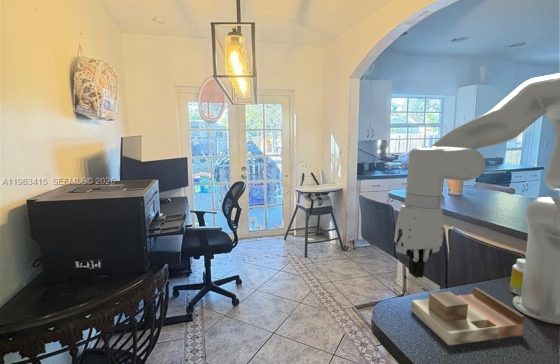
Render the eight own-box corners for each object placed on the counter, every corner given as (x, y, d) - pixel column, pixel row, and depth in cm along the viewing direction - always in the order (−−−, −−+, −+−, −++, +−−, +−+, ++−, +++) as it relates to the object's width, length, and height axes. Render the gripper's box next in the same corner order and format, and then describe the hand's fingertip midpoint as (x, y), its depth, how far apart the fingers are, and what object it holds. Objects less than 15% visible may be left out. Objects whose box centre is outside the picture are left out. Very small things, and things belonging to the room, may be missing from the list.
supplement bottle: (529, 299, 87) (533, 266, 85) (506, 291, 91) (510, 260, 90) (535, 294, 90) (540, 262, 88) (513, 286, 94) (517, 256, 93)
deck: (474, 303, 84) (476, 287, 84) (522, 335, 71) (524, 316, 70) (411, 310, 81) (412, 293, 80) (448, 345, 67) (450, 325, 67)
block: (448, 305, 78) (450, 291, 77) (466, 319, 72) (468, 304, 72) (428, 307, 77) (429, 293, 76) (444, 321, 71) (446, 306, 71)
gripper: (439, 197, 74) (432, 267, 76) (384, 198, 71) (379, 270, 74) (463, 204, 66) (454, 280, 69) (402, 205, 64) (396, 284, 66)
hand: (415, 275), depth 71 cm, fingers closed
